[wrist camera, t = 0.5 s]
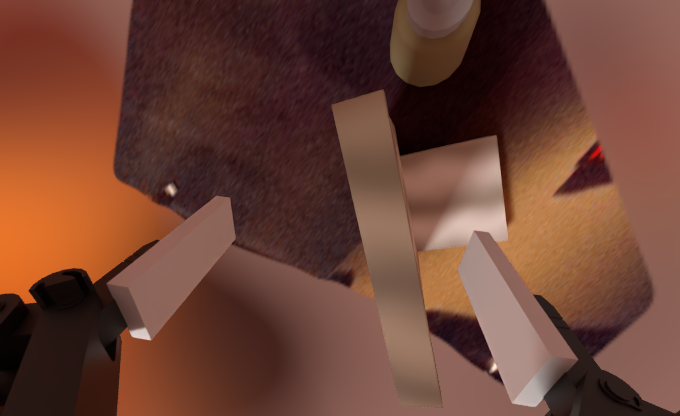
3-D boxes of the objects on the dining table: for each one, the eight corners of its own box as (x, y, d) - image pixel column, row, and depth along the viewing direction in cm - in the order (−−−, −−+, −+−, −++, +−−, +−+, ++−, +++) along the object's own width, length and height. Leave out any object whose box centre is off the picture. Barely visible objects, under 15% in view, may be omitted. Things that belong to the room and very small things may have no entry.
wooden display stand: (376, 128, 35) (331, 105, 13) (485, 99, 31) (682, -1, 9) (401, 254, 38) (399, 405, 16) (502, 242, 34) (672, 418, 13)
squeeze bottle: (453, 6, 29) (521, -177, 12) (466, 79, 31) (542, 4, 14) (384, 35, 32) (362, -87, 15) (399, 101, 33) (394, 60, 16)
